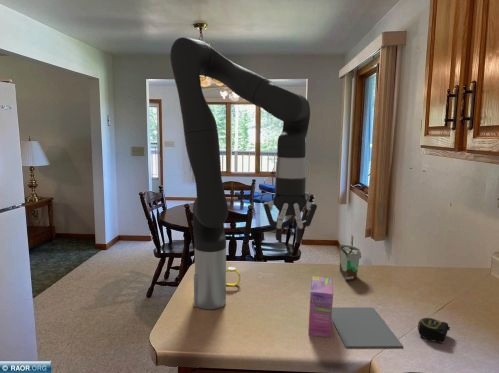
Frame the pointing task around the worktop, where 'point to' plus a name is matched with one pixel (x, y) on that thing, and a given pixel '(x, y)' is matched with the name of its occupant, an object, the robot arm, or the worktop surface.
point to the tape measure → (433, 329)
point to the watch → (233, 271)
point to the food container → (349, 262)
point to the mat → (363, 328)
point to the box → (320, 307)
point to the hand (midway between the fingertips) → (288, 241)
